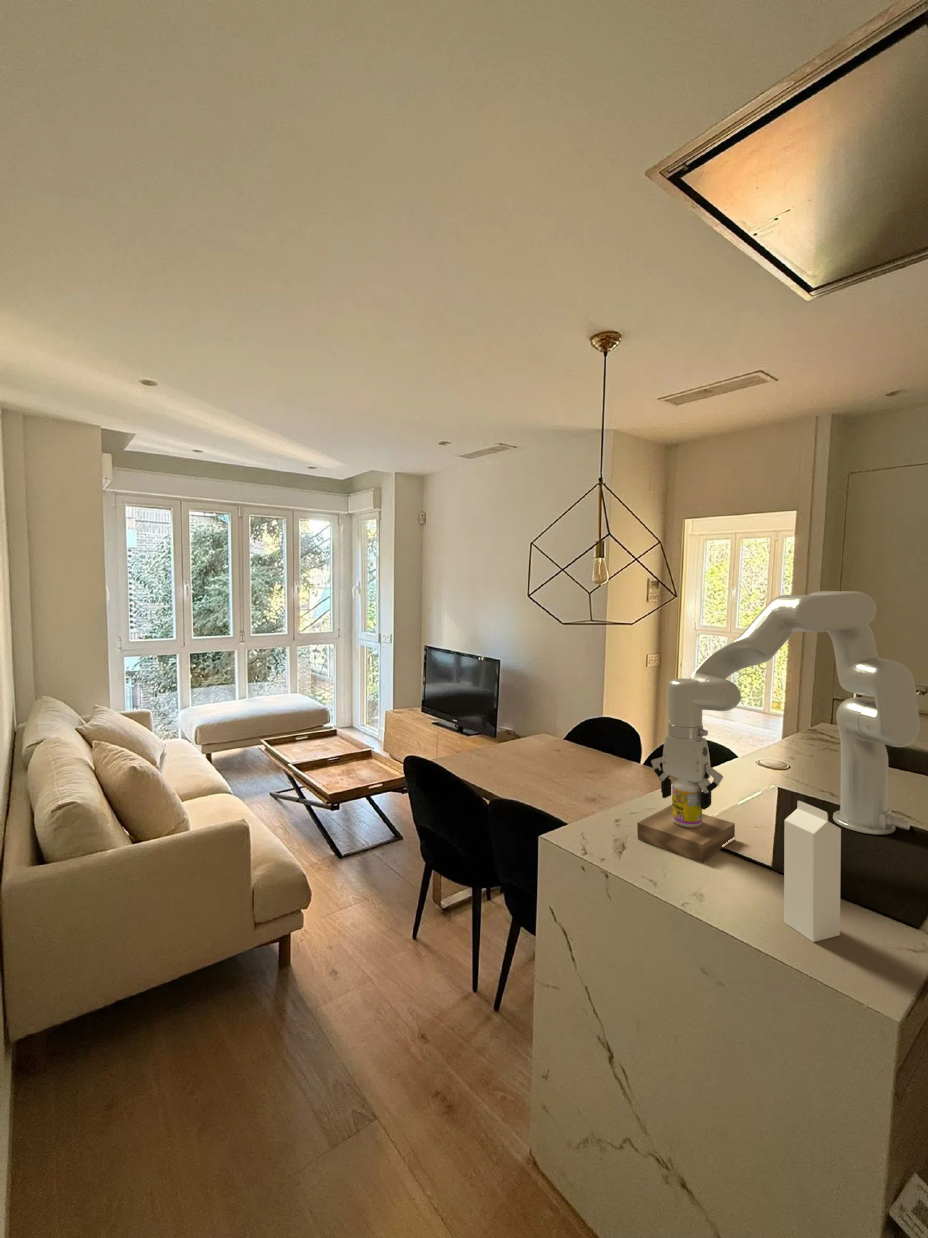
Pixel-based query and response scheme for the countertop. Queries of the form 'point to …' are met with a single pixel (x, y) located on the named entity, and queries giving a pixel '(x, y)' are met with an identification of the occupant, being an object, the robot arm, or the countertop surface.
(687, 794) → the supplement bottle
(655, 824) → the plinth
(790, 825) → the milk
